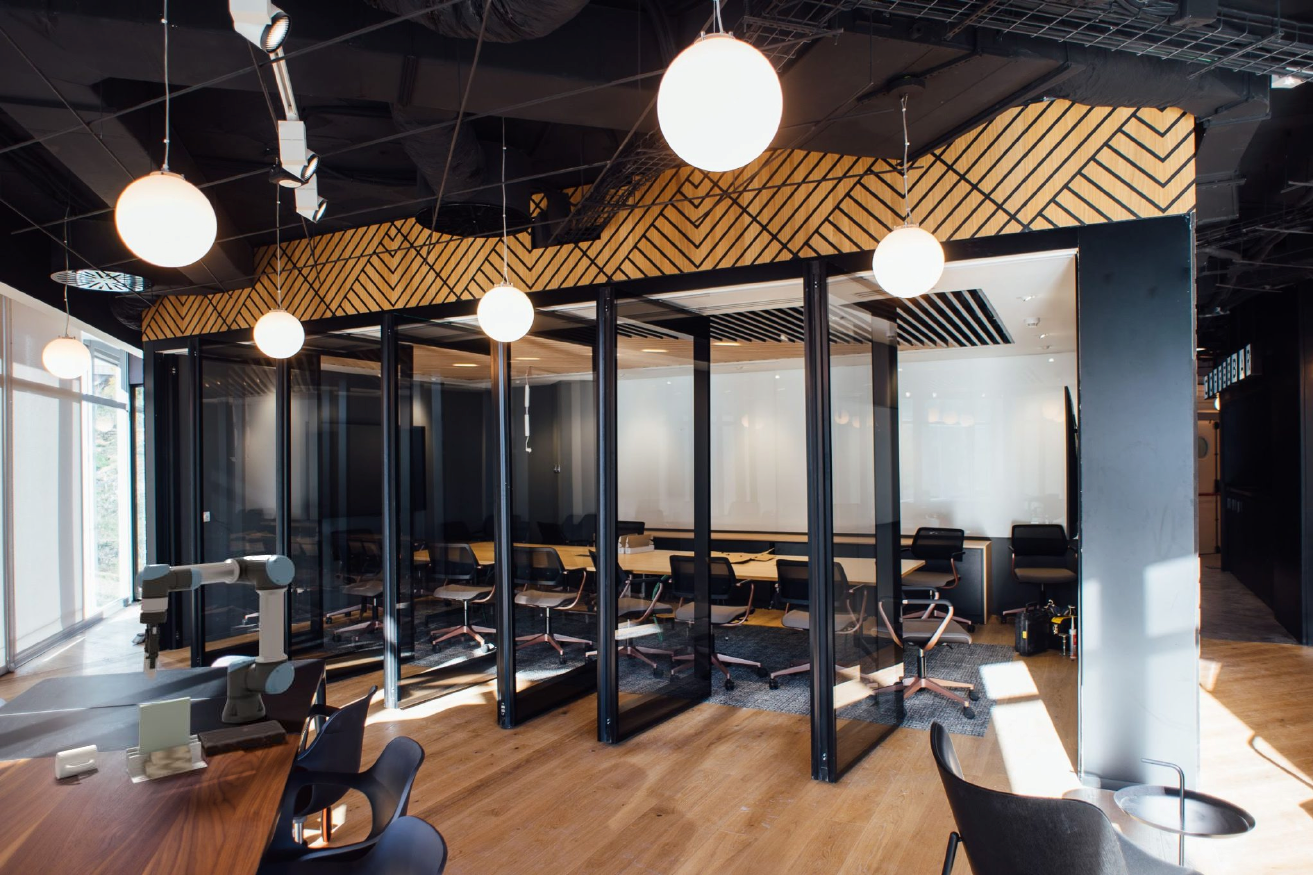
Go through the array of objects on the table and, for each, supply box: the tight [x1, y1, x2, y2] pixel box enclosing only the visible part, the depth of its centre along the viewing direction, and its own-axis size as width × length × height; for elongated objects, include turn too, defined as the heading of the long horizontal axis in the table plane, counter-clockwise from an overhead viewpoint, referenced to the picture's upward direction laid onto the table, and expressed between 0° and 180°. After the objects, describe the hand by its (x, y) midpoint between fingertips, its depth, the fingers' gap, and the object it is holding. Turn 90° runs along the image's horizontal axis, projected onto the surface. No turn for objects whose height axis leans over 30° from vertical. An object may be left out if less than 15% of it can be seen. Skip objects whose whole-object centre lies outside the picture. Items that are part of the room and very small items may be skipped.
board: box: [138, 696, 191, 755], centre depth 250 cm, size 14×2×20 cm, turn 131°
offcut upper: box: [151, 745, 190, 766], centre depth 244 cm, size 10×5×3 cm, turn 131°
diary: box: [198, 719, 287, 757], centre depth 270 cm, size 19×25×5 cm
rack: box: [125, 734, 208, 784], centre depth 246 cm, size 20×18×7 cm
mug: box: [54, 744, 99, 780], centre depth 244 cm, size 12×10×8 cm
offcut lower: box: [145, 756, 192, 777], centre depth 244 cm, size 12×5×3 cm, turn 131°
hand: (149, 675), depth 252 cm, fingers open, 13 cm apart
